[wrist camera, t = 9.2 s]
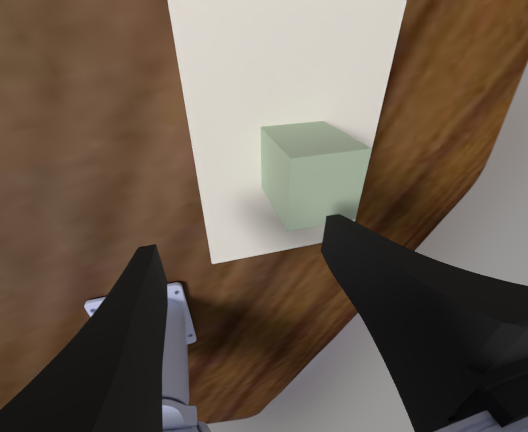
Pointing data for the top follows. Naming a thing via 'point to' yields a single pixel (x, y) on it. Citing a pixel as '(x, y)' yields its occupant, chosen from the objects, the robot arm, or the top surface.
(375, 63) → the base plinth
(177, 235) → the top surface
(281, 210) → the green block
